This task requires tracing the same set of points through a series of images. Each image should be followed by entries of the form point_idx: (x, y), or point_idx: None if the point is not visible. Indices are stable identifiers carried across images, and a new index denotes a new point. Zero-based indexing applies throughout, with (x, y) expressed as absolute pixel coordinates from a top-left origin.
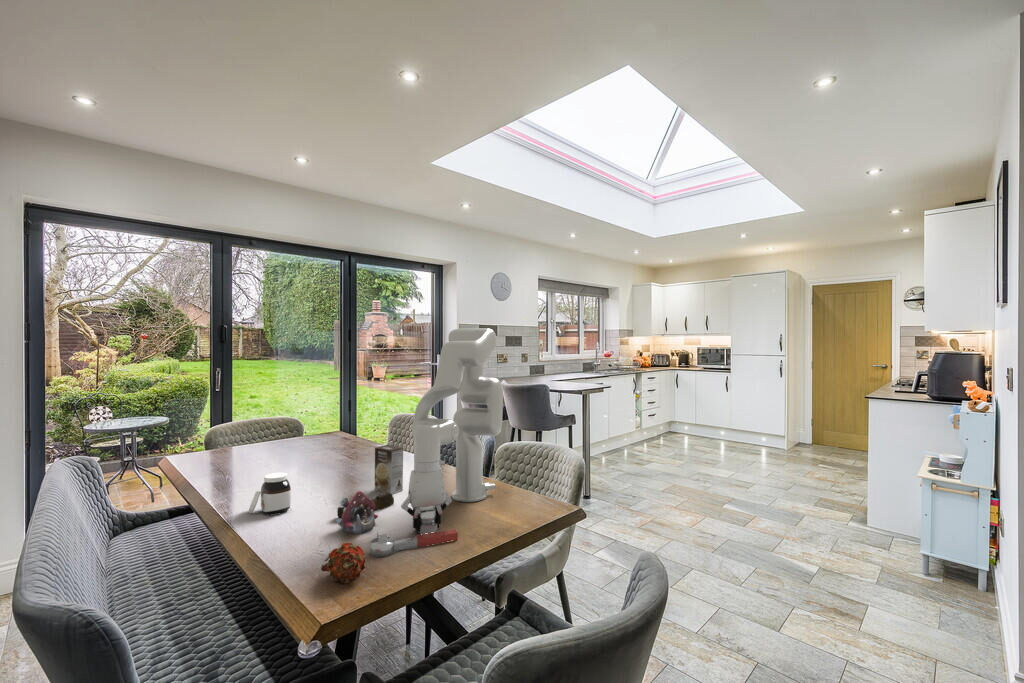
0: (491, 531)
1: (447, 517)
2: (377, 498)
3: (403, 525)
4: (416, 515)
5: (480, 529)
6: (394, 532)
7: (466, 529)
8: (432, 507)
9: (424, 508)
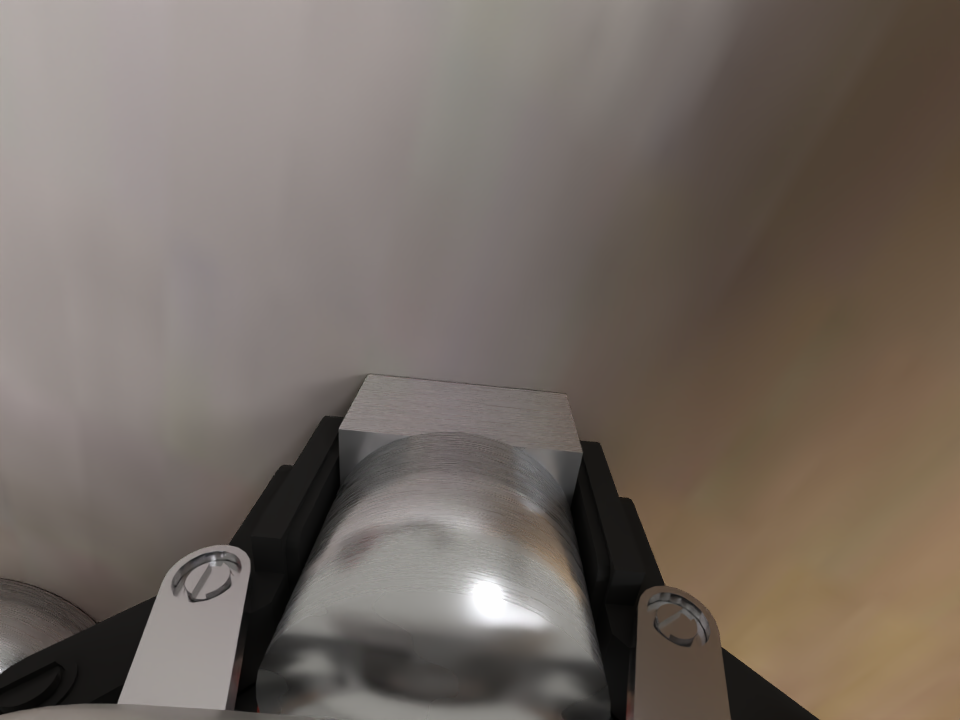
0: (928, 711)
1: (897, 211)
2: None
3: (217, 175)
4: (240, 687)
5: (895, 654)
6: (98, 342)
7: (800, 607)
8: (572, 682)
9: (405, 658)
